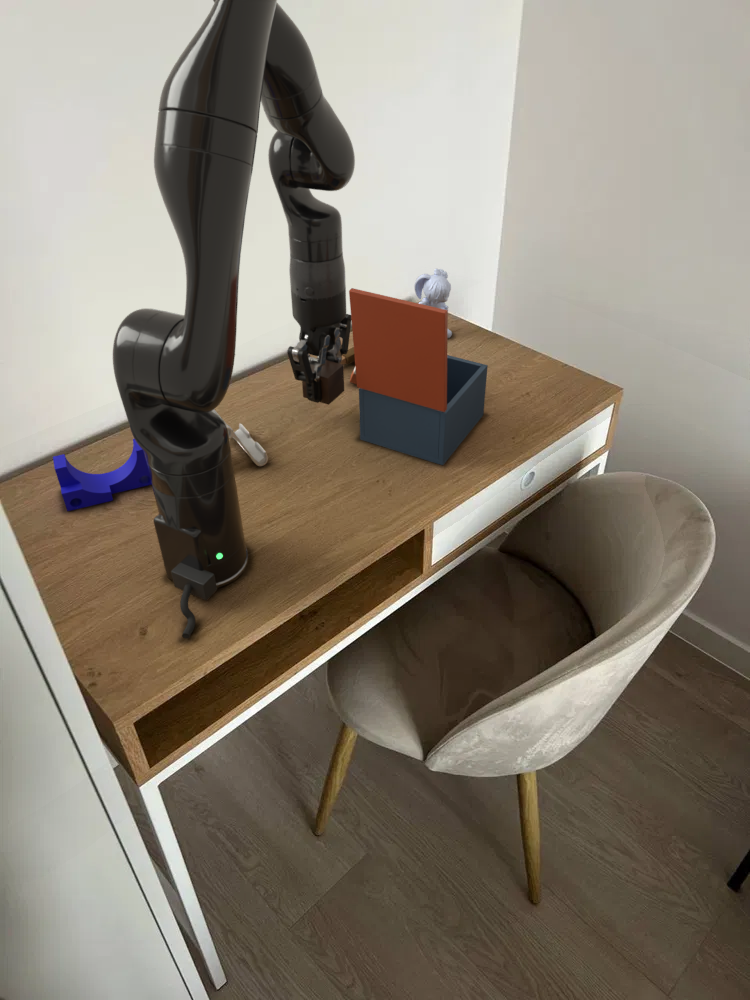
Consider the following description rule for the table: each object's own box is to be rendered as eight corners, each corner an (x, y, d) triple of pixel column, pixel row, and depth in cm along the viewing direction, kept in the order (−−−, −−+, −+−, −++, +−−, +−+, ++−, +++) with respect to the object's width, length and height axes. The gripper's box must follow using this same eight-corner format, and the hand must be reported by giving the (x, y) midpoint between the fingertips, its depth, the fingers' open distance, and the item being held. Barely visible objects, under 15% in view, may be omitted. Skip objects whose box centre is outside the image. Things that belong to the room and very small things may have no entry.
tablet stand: (268, 464, 116) (262, 415, 111) (217, 482, 113) (208, 432, 108) (243, 434, 122) (236, 386, 117) (194, 451, 119) (185, 403, 113)
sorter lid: (351, 287, 104) (348, 290, 104) (448, 310, 99) (445, 313, 99) (359, 384, 115) (356, 387, 114) (447, 409, 110) (444, 412, 109)
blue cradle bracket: (67, 511, 109) (55, 475, 105) (64, 491, 112) (52, 456, 108) (157, 489, 112) (149, 454, 108) (151, 471, 115) (143, 436, 111)
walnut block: (328, 404, 119) (327, 378, 116) (303, 397, 121) (301, 370, 118) (344, 390, 122) (343, 364, 120) (319, 383, 124) (317, 357, 121)
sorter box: (405, 393, 130) (405, 344, 125) (483, 415, 125) (487, 365, 120) (359, 439, 121) (358, 388, 115) (443, 465, 115) (445, 413, 110)
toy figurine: (429, 347, 142) (432, 282, 134) (408, 333, 146) (409, 269, 138) (461, 336, 145) (464, 272, 137) (439, 322, 149) (441, 260, 141)
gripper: (322, 261, 117) (327, 365, 128) (265, 298, 107) (275, 408, 118) (367, 271, 114) (368, 377, 125) (313, 310, 105) (319, 422, 115)
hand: (323, 392), depth 121 cm, fingers closed on walnut block, 4 cm apart
